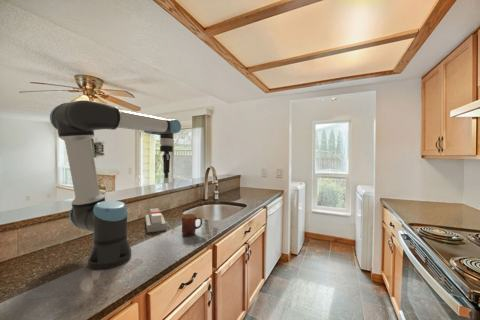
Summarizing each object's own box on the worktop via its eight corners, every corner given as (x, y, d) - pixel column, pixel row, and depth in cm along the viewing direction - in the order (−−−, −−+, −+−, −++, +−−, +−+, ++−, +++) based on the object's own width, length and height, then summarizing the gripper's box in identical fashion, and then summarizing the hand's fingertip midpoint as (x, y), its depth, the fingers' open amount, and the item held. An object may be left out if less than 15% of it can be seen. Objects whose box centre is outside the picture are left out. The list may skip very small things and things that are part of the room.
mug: (177, 236, 108) (178, 217, 108) (184, 231, 117) (184, 213, 117) (199, 238, 107) (199, 218, 107) (204, 232, 116) (204, 214, 116)
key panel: (147, 232, 114) (147, 225, 114) (145, 220, 134) (145, 214, 134) (166, 229, 118) (166, 223, 118) (161, 219, 139) (161, 213, 139)
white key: (151, 223, 116) (152, 216, 116) (151, 221, 120) (151, 213, 120) (161, 222, 118) (161, 215, 118) (160, 220, 123) (160, 213, 123)
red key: (151, 219, 123) (151, 212, 123) (150, 217, 127) (150, 210, 127) (159, 218, 125) (159, 211, 125) (159, 216, 129) (159, 209, 129)
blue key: (150, 217, 129) (150, 210, 129) (149, 215, 134) (149, 208, 134) (158, 216, 132) (158, 209, 132) (157, 214, 136) (157, 208, 136)
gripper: (174, 145, 122) (174, 184, 123) (171, 146, 134) (170, 181, 134) (161, 144, 119) (160, 184, 119) (159, 145, 131) (158, 182, 131)
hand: (166, 183), depth 127 cm, fingers closed
